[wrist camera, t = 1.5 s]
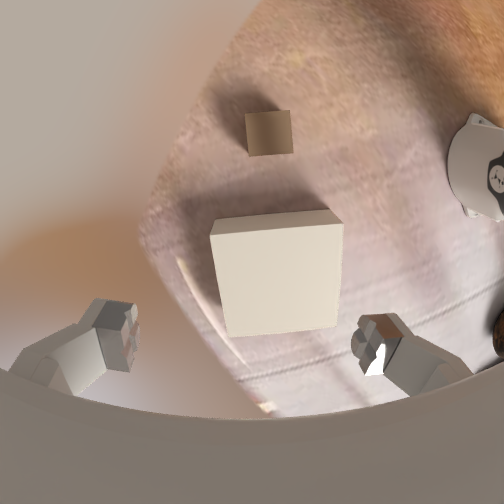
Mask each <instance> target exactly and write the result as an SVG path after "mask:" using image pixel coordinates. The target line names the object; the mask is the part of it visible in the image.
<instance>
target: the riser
mask: <svg viewBox="0 0 504 504" xmlns="http://www.w3.org/2000/svg"><path fill="white" fill-rule="evenodd" d="M210 241H211V247H212V253H213V259H214V264H215V270H216V276H217V281H218V286H219V292H220V297H221V302H222V307H223V313H224V318H225V323H226V328H227V332H228V337H242V336H256V335H267V334H278V333H288V332H297V331H305V330H313V329H321V328H328V327H335V326H336V325H337V316H338V306H339V295H340V283H341V269H342V251H343V222H342V221H341V220H340V219H339V218H338V217H337V216H336V215H335V214H334V213H333V212H332V211H331V210H330V209H326V210H312V211H299V212H286V213H275V214H264V215H253V216H243V217H233V218H223V219H215V221H214V224H213V227H212V230H211V233H210Z"/></svg>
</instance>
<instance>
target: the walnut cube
mask: <svg viewBox="0 0 504 504" xmlns="http://www.w3.org/2000/svg"><path fill="white" fill-rule="evenodd" d="M244 115H245V124H246V134H247V143H248V153H249V157H251V156H262V155H274V154H289V153H293V142H292V130H291V119H290V110H285V111H268V112H255V113H245V114H244Z"/></svg>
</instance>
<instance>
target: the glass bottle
mask: <svg viewBox="0 0 504 504" xmlns="http://www.w3.org/2000/svg"><path fill="white" fill-rule="evenodd" d="M493 346H494V349H495V352H496V353H497V355H498V356H499V357H501V358H503V359H504V310H503V312H502V313H501V315H500V316H499V318H498V320H497V322H496V324H495V327H494V331H493Z"/></svg>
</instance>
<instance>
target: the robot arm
mask: <svg viewBox="0 0 504 504" xmlns="http://www.w3.org/2000/svg"><path fill="white" fill-rule="evenodd" d="M448 177H449V182H450V185H451V188H452V190H453V193H454V194H455V196H456V197H457V199H458V200H459V201H460V202H461V203H462V205H463V208H464V211H465V214H466V216H467V217H469V218H475V217H478V216H480V215H483V216H485V217H487V218H489V219H491V220H493V221H496V222H499V221H501V220H504V129H503V128H499V127H497V126H496V125H494V124H493V123H491V122H490V121H488V120H486V119H485V118H483V117H482V116H480V115H478V114H476V113H471V114H470V116H469V118H468V120H467V123H466V125H465V126H464V127H462V128H461V129H460V130H459V131H458V132H457V133H456V135H455V136H454V138H453V140H452V143H451V146H450V149H449V154H448ZM137 315H138V312H137V306H136V304H134V303H127V302H120V301H113V300H107V299H100V298H96V299H94V300H93V302H92V303H91V305H90V306H89V308H88V309H87V311H86V312H85V314H84V315H83V317H82V318H81V320H80V321H79V323H78V324H72V325H70V326H68V327H66V328H64V329H62V330H60V331H58V332H56V333H54V334H52V335H50V336H48V337H46V338H44V339H42V340H40V341H38V342H36V343H34V344H32V345H30V346H28V347H26V348H24V349H23V350H22V351H21V353H20V354H19V356H18V357H17V359H16V360H15V362H14V363H13V365H12V366H11V368H10V369H9V371H8V372H7V371H5V370H3V369H1V368H0V504H504V361H503V362H501V363H499V364H497V365H495V366H493V367H491V368H489V369H486V370H484V371H482V372H480V373H477V374H475V375H474V374H473V373H472V372H471V371H470V369H469V368H468V367H467V366H466V364H465V363H464V362H463V361H462V360H461V358H459V357H457V356H455V355H453V354H452V353H450V352H448V351H446V350H444V349H442V348H440V347H438V346H436V345H434V344H433V343H431V342H429V341H427V340H425V339H423V338H421V337H419V336H414V334H413V333H412V332H411V331H410V329H409V328H408V327H407V326H406V325H405V323H404V322H403V321H402V320H401V319H400V318H399V316H398V315H397V314H395V313H385V314H371V315H362V316H361V317H360V318H359V321H358V323H357V324H358V327H359V328H358V329H357V330H356V331H355V332H354V333H353V336H352V339H351V349H352V352H353V354H354V356H356V357H357V358H359V359H360V361H359V365H360V367H361V369H362V371H363V373H364V375H373V374H381V373H383V375H384V376H386V377H387V378H388V379H389V380H390V381H392V382H393V383H394V384H395V385H397V386H398V387H399V388H400V389H402V390H403V391H404V392H405V393H407V394H408V395H409V396H410V397H407V398H404V399H400V400H396V401H392V402H388V403H383V404H379V405H374V406H369V407H364V408H359V409H353V410H347V411H341V412H334V413H327V414H319V415H310V416H299V417H286V418H267V419H221V418H202V417H189V416H178V415H168V414H161V413H153V412H147V411H140V410H134V409H129V408H124V407H119V406H113V405H109V404H105V403H100V402H96V401H92V400H88V399H84V398H81V397H77V395H78V394H80V393H81V392H82V391H83V390H84V389H85V388H87V387H88V386H89V385H90V384H91V383H93V382H94V381H95V380H96V379H97V378H98V377H100V376H101V375H102V374H103V373H104V372H105V371H107V369H111V370H117V371H123V372H130V371H131V367H132V364H133V361H134V355H133V352H135V351H136V350H137V349H138V346H139V339H140V327H139V324H138V323H137V321H136V317H137Z"/></svg>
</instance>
